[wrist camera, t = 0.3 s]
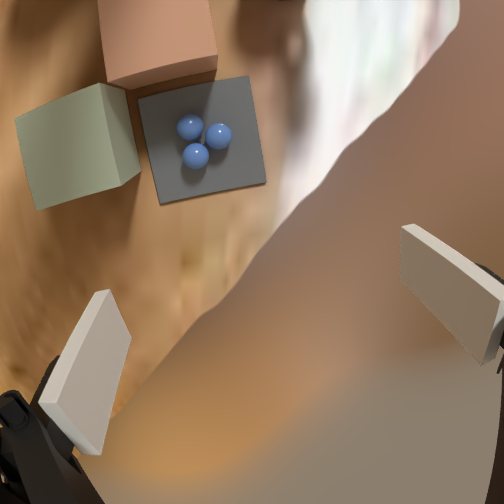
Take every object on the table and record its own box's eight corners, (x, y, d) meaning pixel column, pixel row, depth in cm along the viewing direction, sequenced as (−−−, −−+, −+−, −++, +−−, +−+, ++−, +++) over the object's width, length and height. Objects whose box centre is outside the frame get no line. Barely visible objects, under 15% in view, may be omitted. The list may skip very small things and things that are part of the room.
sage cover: (52, 116, 32) (14, 118, 24) (124, 90, 32) (99, 82, 24) (69, 191, 36) (36, 211, 28) (141, 170, 36) (121, 185, 28)
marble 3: (203, 125, 35) (202, 126, 32) (229, 120, 35) (230, 120, 32) (208, 150, 36) (207, 153, 33) (233, 145, 36) (235, 147, 33)
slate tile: (138, 99, 33) (137, 99, 32) (248, 76, 33) (248, 75, 33) (160, 202, 38) (160, 203, 38) (266, 181, 39) (266, 182, 38)
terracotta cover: (120, 16, 28) (96, -8, 20) (203, -4, 29) (201, -36, 20) (131, 89, 32) (107, 81, 24) (217, 69, 33) (217, 54, 24)
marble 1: (175, 117, 34) (172, 116, 31) (201, 111, 34) (200, 110, 31) (180, 142, 35) (177, 143, 32) (206, 136, 35) (205, 137, 33)
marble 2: (181, 145, 35) (178, 147, 33) (206, 139, 35) (206, 141, 33) (186, 169, 37) (184, 174, 34) (211, 164, 37) (211, 168, 34)
